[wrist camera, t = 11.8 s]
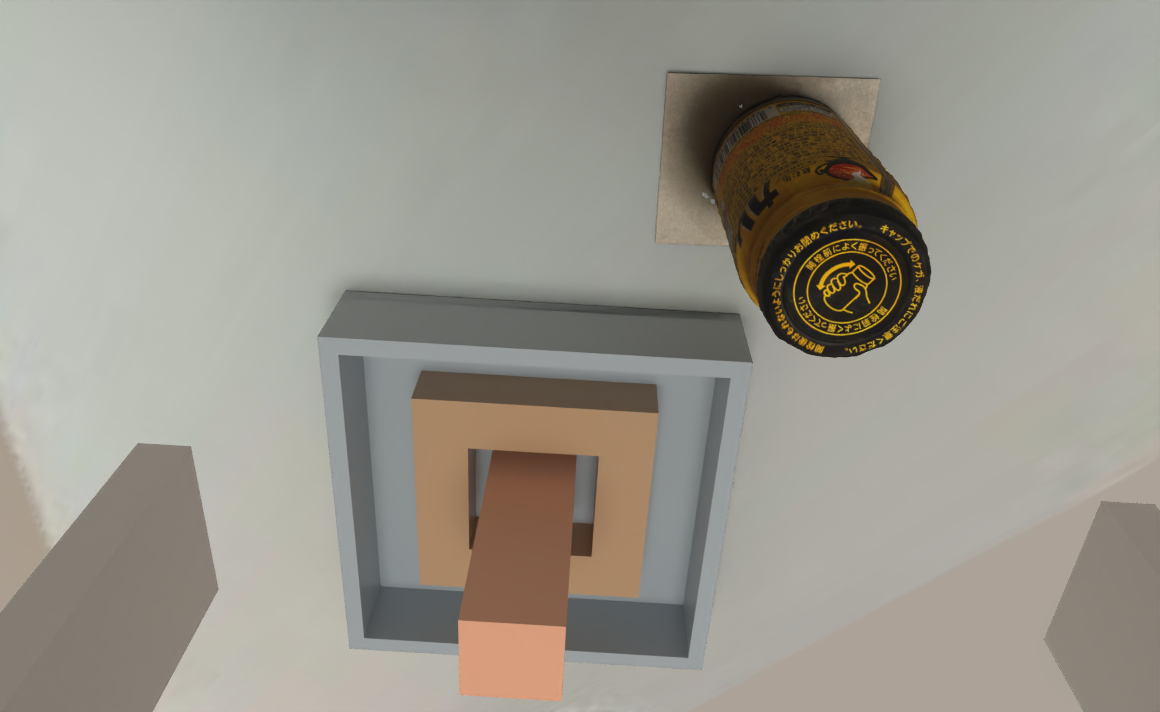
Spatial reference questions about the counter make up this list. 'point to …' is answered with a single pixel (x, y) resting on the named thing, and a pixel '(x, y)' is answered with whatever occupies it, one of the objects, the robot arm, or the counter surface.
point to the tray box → (543, 425)
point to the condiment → (794, 204)
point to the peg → (519, 579)
